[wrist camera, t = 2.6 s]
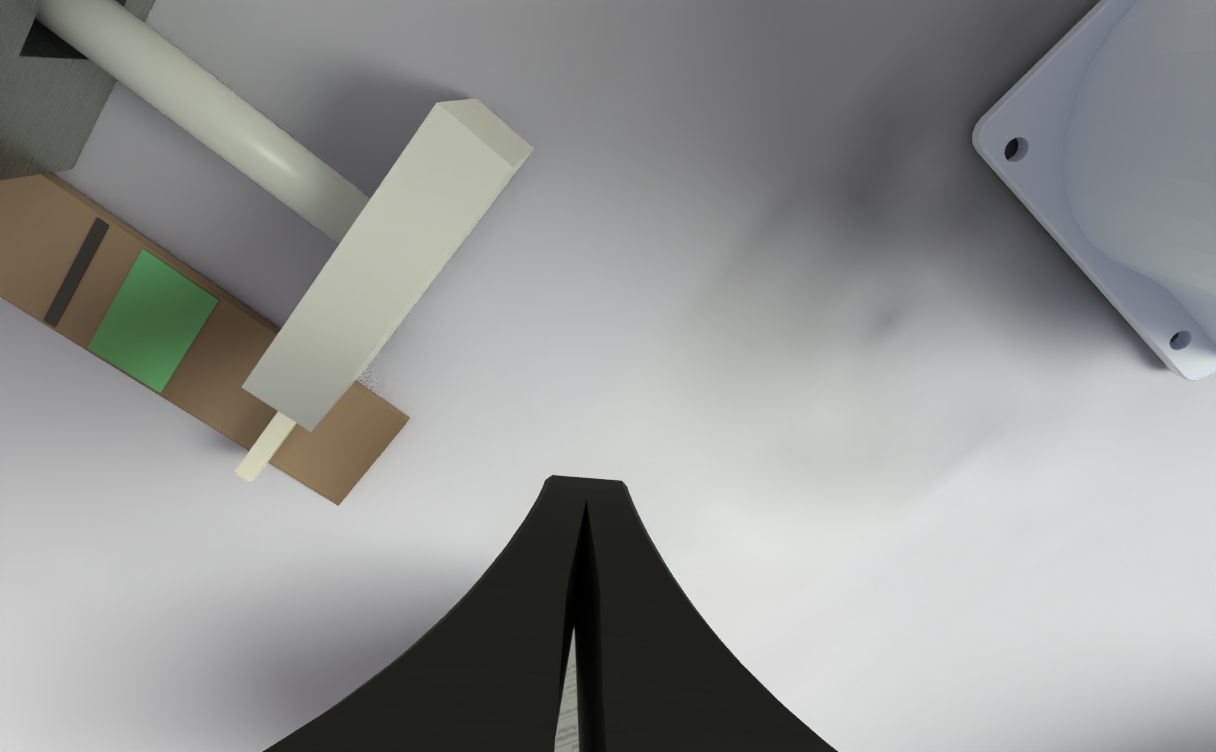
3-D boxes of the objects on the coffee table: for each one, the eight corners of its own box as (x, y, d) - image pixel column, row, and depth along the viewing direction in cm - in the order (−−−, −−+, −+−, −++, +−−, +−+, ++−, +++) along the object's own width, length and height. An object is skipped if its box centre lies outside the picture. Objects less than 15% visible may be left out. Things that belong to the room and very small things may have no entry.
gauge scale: (409, 417, 18) (406, 423, 18) (341, 499, 19) (337, 506, 19) (10, 144, 15) (-3, 145, 15) (-42, 261, 16) (-55, 264, 16)
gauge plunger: (534, 148, 15) (512, 167, 11) (282, 477, 18) (210, 564, 15) (74, -251, 12) (-133, -381, 8) (-115, 233, 15) (-310, 273, 12)
